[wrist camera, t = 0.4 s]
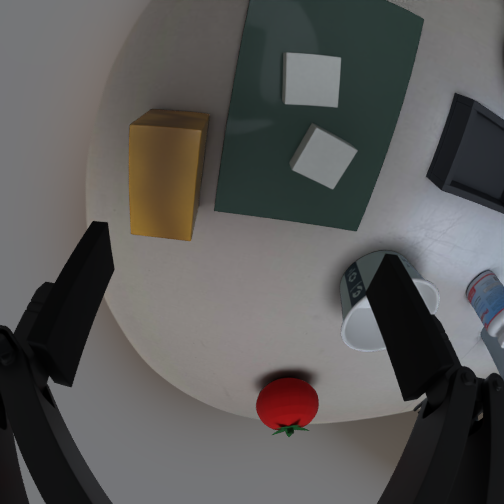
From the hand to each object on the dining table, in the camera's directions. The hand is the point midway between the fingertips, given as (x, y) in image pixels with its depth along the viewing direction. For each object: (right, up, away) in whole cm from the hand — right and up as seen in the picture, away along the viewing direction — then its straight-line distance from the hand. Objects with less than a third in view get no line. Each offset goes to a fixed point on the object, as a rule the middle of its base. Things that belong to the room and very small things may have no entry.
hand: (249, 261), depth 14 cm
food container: (+15, -3, +21) cm, 26 cm away
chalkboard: (+6, +13, +9) cm, 16 cm away
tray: (+25, +11, +11) cm, 30 cm away
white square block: (+6, +9, +10) cm, 15 cm away
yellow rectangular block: (-7, +8, +11) cm, 16 cm away
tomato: (+6, -22, +35) cm, 42 cm away
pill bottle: (+36, -5, +23) cm, 43 cm away
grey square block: (+4, +14, +6) cm, 16 cm away
